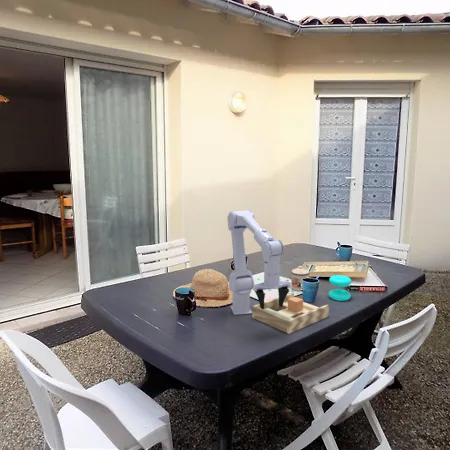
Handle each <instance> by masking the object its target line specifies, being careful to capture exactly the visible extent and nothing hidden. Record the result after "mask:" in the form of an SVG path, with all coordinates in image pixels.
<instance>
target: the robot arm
mask: <svg viewBox="0 0 450 450" xmlns="http://www.w3.org/2000/svg"><path fill="white" fill-rule="evenodd" d="M226 218H227V226H228V228H227V229H228V231H230V233H231V243H232V244H231V245H232V255H233V264H234V270H233V271H231V273H230V274H229V275H228V276H229V277H228V278H229V280H228V286H229V287H228V288H229V290H230V291H231V292H232V301H231V302H232V305H230V309H231V311H232V313H233V315H235V316H237V315H251V314H252V309H251V306H250V305H251V299H250V298H251V292H252V291H254V293H255V294H256V297H257V299H258V304H260V308H261V309H264V302H265V297H266V293H265V292H264V290H265V291H266V290H273V289H274V290H277V291H278V292H277V293H278V297H279V306H281V307H283V303H284V300H285V298H286V296H287V294H289V292H290V289H291V282H290V281H289V280H288V281H287V280H286V281H283V280H281V279H280V276H281V275H280V273H281V268H280V267H281V255H283V254H284V250H285V249H284V244H283V242H282V241H281V240H280V239H277V238H274V237H273V236H272V235H271V234H270V232H269V231H268V229H267V228H261V226H260V225H259V223H258V222H257V221H256V218H255V213H254V212H253V211H252V209H245V210H235V211H234V210H231V211H229V213H228V215H227V217H226ZM247 229H248V230H249V231H250V232H251V233H252V234H253V239H254V240H255V242H256V243H257V244H258V245H259V247H261V253H262V259H263V262H264V269H263V270H264V271H263V275H264V277H263V278H264V279H263V282H260V283H256V284H255V280H254V276H253V273H252V271H250V270H249V269H247V261H246V260H247V258H246V252H245V251H246V250H245V239H244V232H245V230H247ZM289 288H290V289H289Z"/></svg>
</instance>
